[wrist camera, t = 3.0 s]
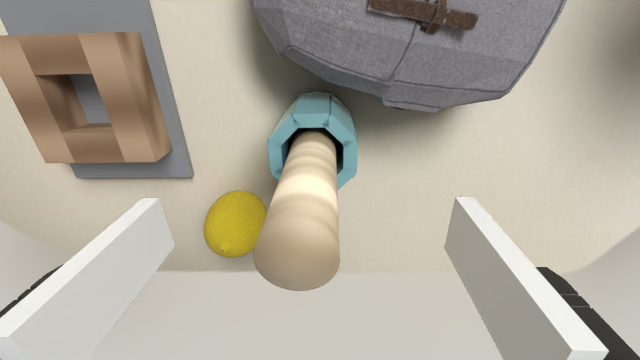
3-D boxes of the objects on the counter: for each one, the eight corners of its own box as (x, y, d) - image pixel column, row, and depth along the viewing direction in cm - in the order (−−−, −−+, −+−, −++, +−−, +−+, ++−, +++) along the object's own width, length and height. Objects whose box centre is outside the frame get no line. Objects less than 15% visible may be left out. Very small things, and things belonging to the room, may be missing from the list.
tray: (-1, -6, 22) (-12, -8, 22) (145, -12, 22) (139, -14, 21) (82, 174, 30) (76, 178, 29) (194, 173, 29) (190, 177, 28)
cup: (283, 92, 25) (263, 114, 18) (350, 90, 25) (358, 112, 18) (288, 154, 28) (273, 195, 21) (349, 153, 27) (355, 195, 20)
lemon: (216, 179, 29) (180, 225, 22) (269, 175, 29) (248, 221, 22) (229, 222, 32) (200, 276, 25) (277, 219, 31) (261, 274, 24)
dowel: (298, 109, 25) (247, 224, 10) (335, 108, 25) (339, 224, 10) (300, 143, 26) (259, 290, 11) (335, 143, 26) (339, 291, 11)
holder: (21, 36, 23) (-20, 36, 20) (139, 32, 22) (113, 31, 20) (73, 150, 28) (45, 163, 25) (172, 149, 27) (155, 162, 24)
